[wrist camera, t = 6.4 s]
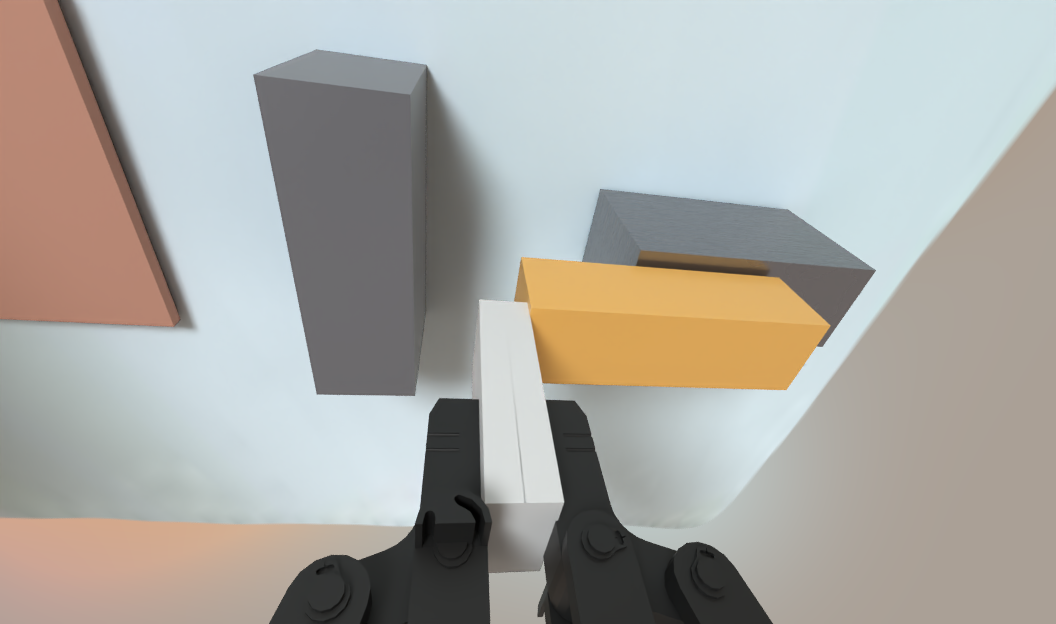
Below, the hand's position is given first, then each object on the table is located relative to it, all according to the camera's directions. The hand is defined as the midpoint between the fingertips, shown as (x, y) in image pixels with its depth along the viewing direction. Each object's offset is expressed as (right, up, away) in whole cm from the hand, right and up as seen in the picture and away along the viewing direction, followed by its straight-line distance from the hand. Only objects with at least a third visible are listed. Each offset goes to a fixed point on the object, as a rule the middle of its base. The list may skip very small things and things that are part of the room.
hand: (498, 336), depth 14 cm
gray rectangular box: (+9, +5, +9) cm, 13 cm away
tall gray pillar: (-6, +6, +6) cm, 10 cm away
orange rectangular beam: (+5, +1, +3) cm, 6 cm away
